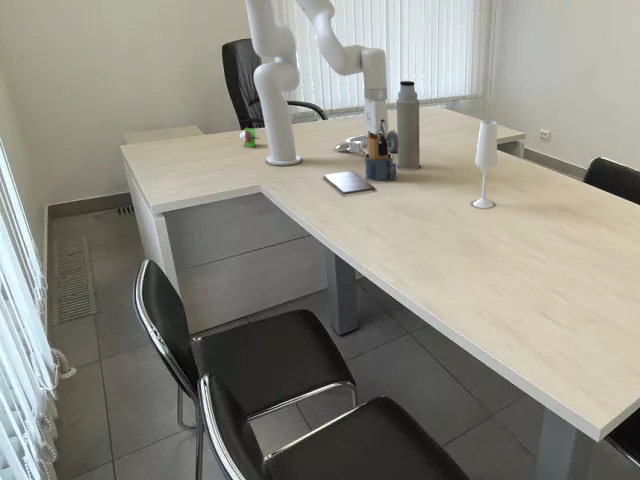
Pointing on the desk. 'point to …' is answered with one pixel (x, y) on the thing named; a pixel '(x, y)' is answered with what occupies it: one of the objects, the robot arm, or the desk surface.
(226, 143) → the desk surface
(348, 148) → the headphones
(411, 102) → the thermos bottle
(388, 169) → the mug
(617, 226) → the desk surface
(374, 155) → the paper cup
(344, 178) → the serving board
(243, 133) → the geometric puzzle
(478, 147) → the champagne flute
